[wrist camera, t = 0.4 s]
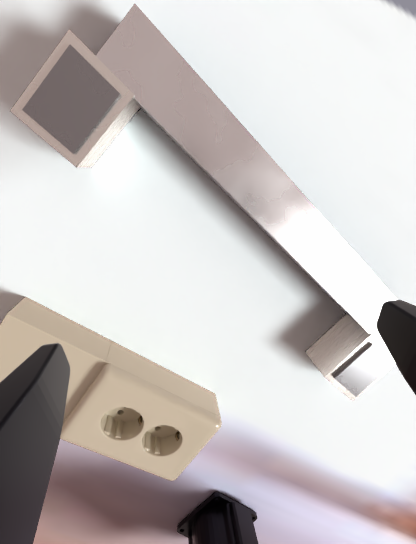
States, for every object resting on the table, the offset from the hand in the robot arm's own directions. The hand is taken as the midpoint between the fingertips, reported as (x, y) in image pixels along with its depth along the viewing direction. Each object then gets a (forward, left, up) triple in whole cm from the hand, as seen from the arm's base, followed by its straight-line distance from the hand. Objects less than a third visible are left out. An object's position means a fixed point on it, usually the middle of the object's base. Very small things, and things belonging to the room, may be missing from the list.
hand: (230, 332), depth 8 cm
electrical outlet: (-14, -4, -15) cm, 21 cm away
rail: (+3, -4, -15) cm, 15 cm away
